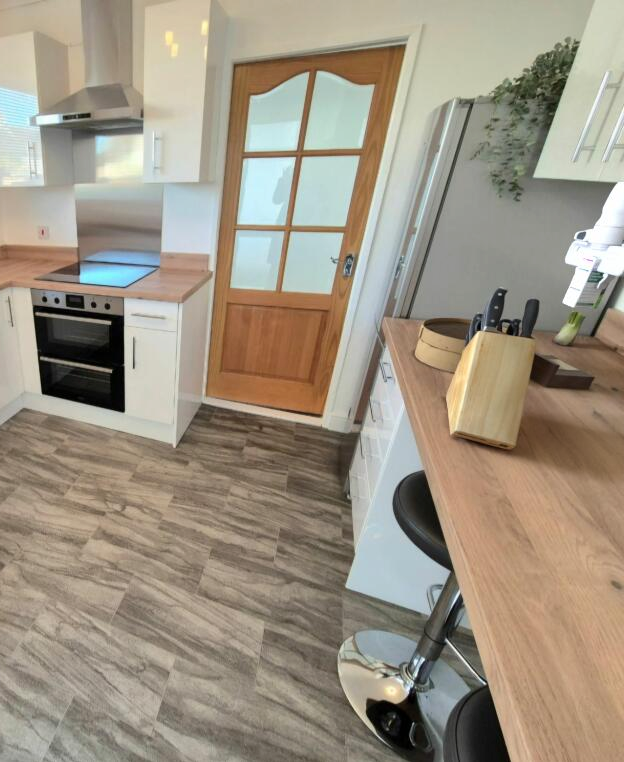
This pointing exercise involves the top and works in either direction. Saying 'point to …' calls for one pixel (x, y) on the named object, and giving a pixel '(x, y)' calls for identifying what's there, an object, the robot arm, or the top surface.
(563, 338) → the fennel bulb
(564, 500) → the top surface
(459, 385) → the knife block
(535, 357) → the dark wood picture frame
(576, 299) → the syrup box
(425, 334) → the steamer basket
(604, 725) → the top surface
